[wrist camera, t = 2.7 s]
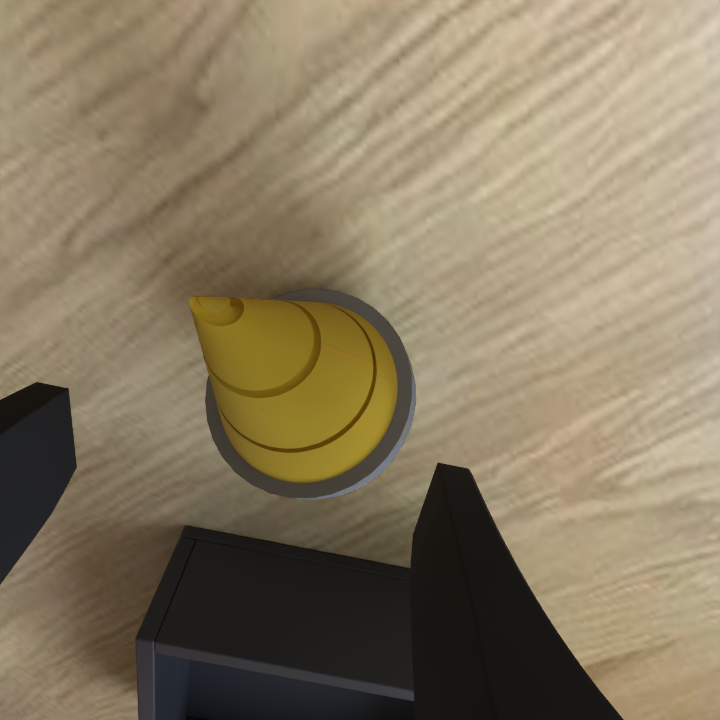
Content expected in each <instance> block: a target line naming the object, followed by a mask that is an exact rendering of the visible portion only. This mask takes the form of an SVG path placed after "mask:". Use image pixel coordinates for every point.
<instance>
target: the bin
mask: <svg viewBox="0 0 720 720" xmlns="http://www.w3.org/2000/svg"><path fill="white" fill-rule="evenodd" d="M136 663H137V690H138V717H139V720H414V686H413V662H412V638H411V613H410V569H406V568H401V567H396V566H390V565H385V564H380V563H375V562H370V561H365V560H359V559H354V558H349V557H344V556H339V555H334V554H328V553H323V552H318V551H313V550H308V549H303V548H297V547H292V546H287V545H282V544H277V543H271V542H266V541H261V540H256V539H251V538H246V537H240V536H235V535H230V534H225V533H220V532H215V531H209V530H204V529H199V528H194V527H189V526H185V527H184V529H183V531H182V534H181V537H180V538H179V541H178V543H177V545H176V547H175V550H174V552H173V554H172V556H171V559H170V561H169V563H168V566H167V568H166V570H165V572H164V575H163V577H162V579H161V581H160V584H159V586H158V588H157V590H156V593H155V595H154V597H153V599H152V602H151V604H150V606H149V609H148V611H147V613H146V615H145V618H144V620H143V622H142V624H141V627H140V629H139V631H138V633H137V636H136Z"/></svg>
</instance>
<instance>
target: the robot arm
mask: <svg viewBox="0 0 720 720" xmlns="http://www.w3.org/2000/svg"><path fill="white" fill-rule="evenodd" d="M76 468H77V465H76V456H75V446H74V436H73V427H72V417H71V408H70V398H69V389H68V388H63V387H59V386H54V385H49V384H44V383H39V382H36V383H34V384H32V385H30V386H28V387H25V388H23V389H21V390H19V391H17V392H15V393H13V394H11V395H9V396H7V397H5V398H3V399H1V400H0V584H1V583H2V581H3V580H4V579H5V577H6V576H7V575H8V573H9V572H10V571H11V569H12V568H13V566H14V565H15V564H16V562H17V561H18V560H19V558H20V557H21V556H22V554H23V553H24V551H25V550H26V549H27V547H28V546H29V545H30V543H31V542H32V540H33V539H34V538H35V536H36V535H37V533H38V532H39V531H40V529H41V528H42V526H43V525H44V524H45V522H46V521H47V519H48V518H49V517H50V515H51V514H52V512H53V510H54V508H55V507H56V505H57V503H58V501H59V500H60V498H61V496H62V494H63V493H64V491H65V489H66V487H67V485H68V483H69V481H70V479H71V477H72V475H73V473H74V472H75V470H76ZM410 613H411V638H412V662H413V686H414V720H623V718H622V717H621V716H620V715H619V714H618V712H617V711H616V710H615V709H614V707H613V706H612V705H611V704H610V703H609V701H608V700H607V699H606V698H605V696H604V695H603V694H602V693H601V692H600V690H599V689H598V688H597V686H596V685H595V684H594V682H593V681H592V680H591V678H590V677H589V676H588V674H587V673H586V672H585V670H584V669H583V668H582V666H581V665H580V664H579V662H578V661H577V659H576V658H575V657H574V655H573V654H572V652H571V651H570V650H569V648H568V647H567V645H566V644H565V642H564V641H563V640H562V638H561V637H560V635H559V634H558V632H557V631H556V629H555V628H554V626H553V624H552V623H551V621H550V620H549V618H548V617H547V615H546V614H545V612H544V610H543V609H542V607H541V605H540V604H539V602H538V601H537V599H536V597H535V596H534V594H533V592H532V591H531V589H530V587H529V586H528V584H527V582H526V580H525V579H524V577H523V575H522V573H521V572H520V570H519V568H518V566H517V564H516V563H515V561H514V559H513V557H512V555H511V553H510V551H509V550H508V548H507V546H506V544H505V542H504V540H503V538H502V536H501V534H500V532H499V530H498V529H497V527H496V524H495V522H494V520H493V518H492V516H491V514H490V512H489V510H488V508H487V506H486V504H485V502H484V499H483V497H482V495H481V493H480V491H479V488H478V486H477V484H476V482H475V480H474V477H473V475H472V473H471V472H470V470H469V469H467V468H462V467H457V466H452V465H447V464H442V463H437V466H436V469H435V472H434V475H433V478H432V481H431V484H430V487H429V489H428V492H427V495H426V498H425V501H424V504H423V507H422V510H421V513H420V515H419V518H418V521H417V524H416V527H415V530H414V533H413V542H412V554H411V568H410Z"/></svg>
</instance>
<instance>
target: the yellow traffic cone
mask: <svg viewBox="0 0 720 720" xmlns="http://www.w3.org/2000/svg"><path fill="white" fill-rule="evenodd" d="M190 308H191V312H192V315H193V319H194V323H195V326H196V330H197V334H198V337H199V341H200V344H201V348H202V352H203V355H204V359H205V363H206V366H207V370H208V373H209V376H208V380H207V388H206V399H205V403H206V413H207V421H208V425H209V428H210V431H211V434H212V438H213V440H214V442H215V444H216V446H217V448H218V450H219V451H220V453H221V455H222V457H223V458H224V459H225V461H226V462H227V463H228V464H229V465H230V466H231V468H232V469H233V470H234V471H235V472H236V473H237V474H238V475H240V476H241V477H242V478H244V479H245V480H246V481H247V482H249V483H250V484H251V485H253V486H256V487H258V488H260V489H262V490H264V491H266V492H268V493H271V494H275V495H280V496H284V497H288V498H295V499H326V498H332V497H337V496H342V495H344V494H346V493H349V492H351V491H354V490H356V489H358V488H361V487H362V486H364V485H365V484H367V483H368V482H369V481H371V480H372V479H374V478H375V477H377V476H378V475H379V474H380V473H381V472H382V471H383V470H384V469H385V468H386V467H387V466H388V465H389V464H390V463H391V462H392V461H393V459H394V458H395V456H396V455H397V453H398V452H399V450H400V449H401V447H402V446H403V444H404V442H405V440H406V437H407V435H408V432H409V430H410V428H411V425H412V421H413V416H414V410H415V405H416V384H415V380H414V375H413V370H412V366H411V363H410V360H409V358H408V355H407V353H406V351H405V348H404V346H403V344H402V342H401V339H400V337H399V336H398V334H397V333H396V331H395V330H394V329H393V327H392V326H391V324H390V323H389V322H388V321H387V320H386V319H385V318H384V317H383V316H382V315H381V314H380V313H379V312H378V311H377V310H375V309H374V308H373V307H371V306H370V305H368V304H366V303H365V302H363V301H361V300H360V299H358V298H356V297H353V296H350V295H347V294H344V293H341V292H338V291H331V290H323V289H310V290H298V291H294V292H290V293H286V294H282V295H279V296H277V297H275V298H273V299H271V300H267V299H248V298H227V297H210V296H193V297H192V298H191V299H190Z"/></svg>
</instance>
